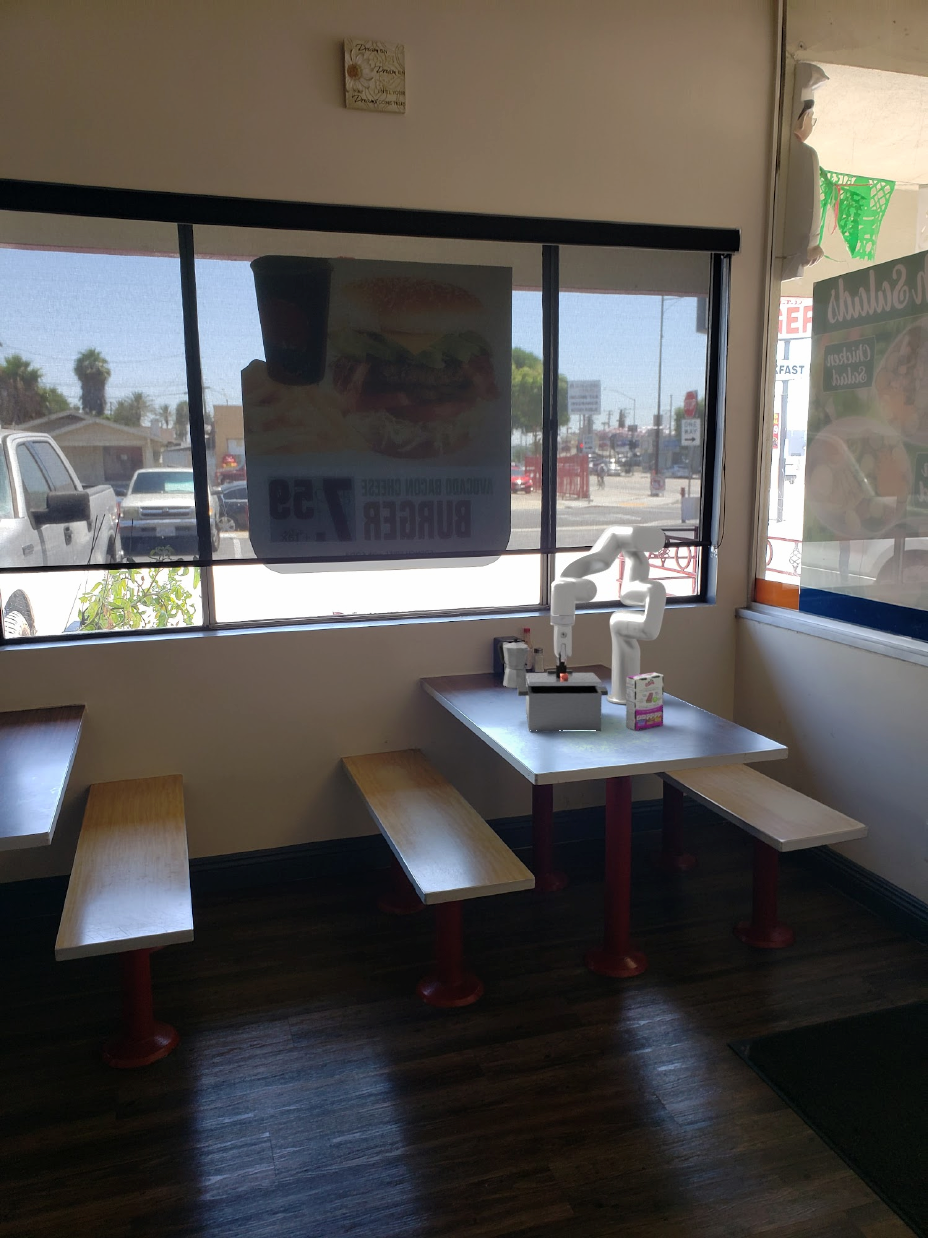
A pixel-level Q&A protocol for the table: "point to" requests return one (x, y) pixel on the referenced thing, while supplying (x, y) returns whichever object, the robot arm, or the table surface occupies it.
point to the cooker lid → (563, 679)
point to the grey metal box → (563, 707)
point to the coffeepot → (514, 663)
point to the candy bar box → (644, 701)
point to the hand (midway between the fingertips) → (560, 677)
